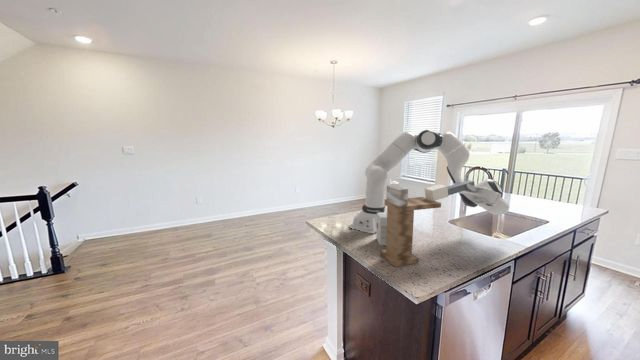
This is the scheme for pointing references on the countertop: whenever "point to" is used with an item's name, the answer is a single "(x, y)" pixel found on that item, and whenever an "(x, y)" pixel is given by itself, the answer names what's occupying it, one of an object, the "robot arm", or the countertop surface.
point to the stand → (402, 224)
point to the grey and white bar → (445, 190)
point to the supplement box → (381, 228)
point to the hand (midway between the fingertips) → (462, 184)
